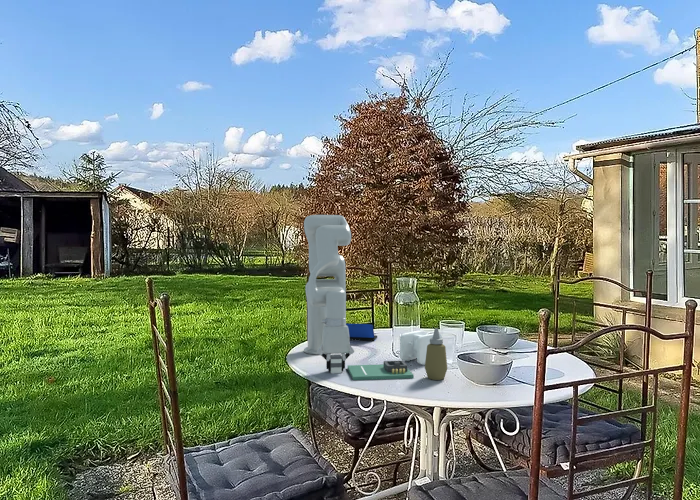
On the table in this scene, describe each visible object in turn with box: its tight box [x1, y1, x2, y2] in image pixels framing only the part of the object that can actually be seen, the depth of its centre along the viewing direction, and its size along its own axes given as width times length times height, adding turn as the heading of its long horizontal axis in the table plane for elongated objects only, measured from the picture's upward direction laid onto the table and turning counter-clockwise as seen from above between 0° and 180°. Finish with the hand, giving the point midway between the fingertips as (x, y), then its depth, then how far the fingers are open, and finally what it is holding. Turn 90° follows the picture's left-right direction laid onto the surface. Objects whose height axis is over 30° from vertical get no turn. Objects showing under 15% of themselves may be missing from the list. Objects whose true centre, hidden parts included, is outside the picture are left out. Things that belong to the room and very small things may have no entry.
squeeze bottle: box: [424, 328, 448, 381], centre depth 194 cm, size 8×8×18 cm
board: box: [347, 359, 415, 381], centre depth 200 cm, size 16×22×5 cm
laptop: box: [346, 322, 378, 342], centre depth 261 cm, size 16×13×9 cm
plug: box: [329, 353, 343, 374], centre depth 202 cm, size 4×4×6 cm
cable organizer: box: [399, 330, 443, 366], centre depth 219 cm, size 15×11×12 cm
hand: (335, 370), depth 202 cm, fingers closed on plug, 4 cm apart
